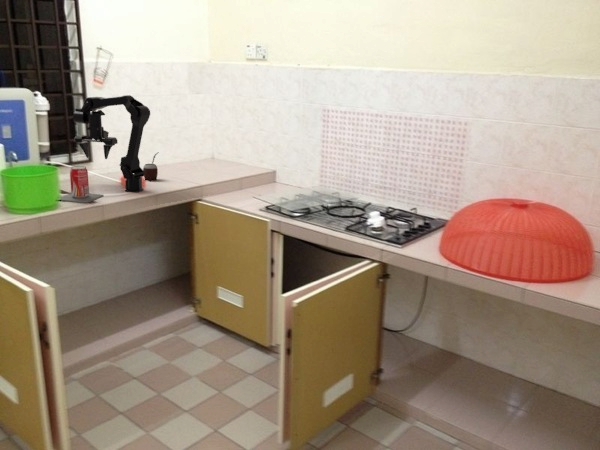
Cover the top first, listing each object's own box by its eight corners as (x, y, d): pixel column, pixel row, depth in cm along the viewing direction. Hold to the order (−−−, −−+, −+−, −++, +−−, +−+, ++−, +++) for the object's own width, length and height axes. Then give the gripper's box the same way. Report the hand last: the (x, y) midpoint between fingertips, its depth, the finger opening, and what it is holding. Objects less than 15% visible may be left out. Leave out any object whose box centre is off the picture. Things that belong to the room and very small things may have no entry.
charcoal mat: (103, 195, 242) (103, 194, 242) (86, 203, 229) (86, 201, 229) (74, 193, 244) (73, 191, 244) (55, 200, 231) (55, 199, 230)
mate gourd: (143, 178, 280) (142, 149, 276) (159, 178, 282) (159, 149, 278) (143, 181, 273) (142, 151, 269) (159, 181, 275) (158, 152, 271)
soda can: (92, 195, 239) (90, 166, 235) (84, 199, 232) (82, 169, 229) (76, 194, 240) (74, 165, 236) (68, 198, 233) (66, 168, 229)
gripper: (122, 124, 259) (123, 157, 263) (85, 121, 262) (87, 154, 266) (110, 126, 248) (112, 160, 253) (72, 124, 251) (74, 157, 255)
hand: (97, 158), depth 257 cm, fingers open, 9 cm apart
